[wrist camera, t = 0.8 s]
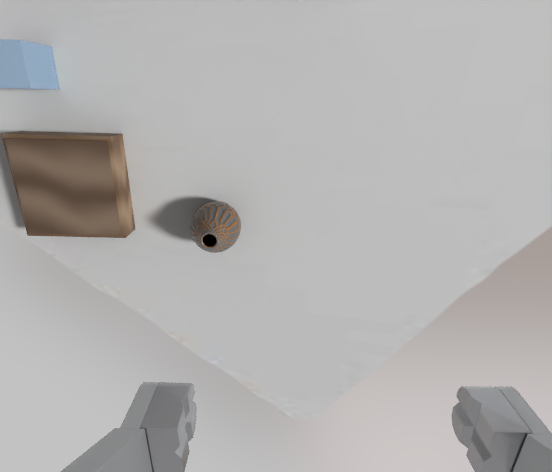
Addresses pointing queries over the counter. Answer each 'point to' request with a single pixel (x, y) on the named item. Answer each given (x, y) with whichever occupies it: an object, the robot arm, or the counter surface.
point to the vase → (215, 226)
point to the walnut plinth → (71, 183)
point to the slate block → (27, 65)
